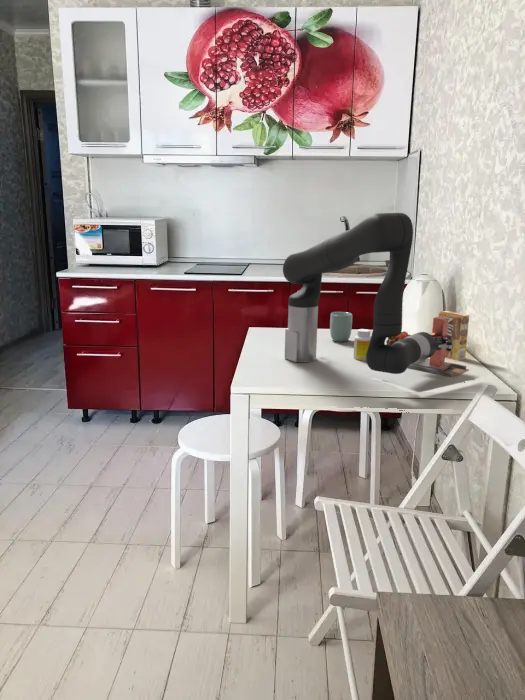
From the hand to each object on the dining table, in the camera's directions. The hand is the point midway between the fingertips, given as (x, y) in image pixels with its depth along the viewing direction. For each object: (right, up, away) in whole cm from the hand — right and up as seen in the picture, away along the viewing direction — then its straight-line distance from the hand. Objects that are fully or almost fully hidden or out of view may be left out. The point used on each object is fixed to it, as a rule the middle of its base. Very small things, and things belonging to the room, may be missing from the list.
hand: (443, 337), depth 173 cm
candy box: (+7, -7, +14) cm, 17 cm away
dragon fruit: (-8, -5, +21) cm, 23 cm away
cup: (-25, 0, +39) cm, 47 cm away
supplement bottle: (-22, -8, +11) cm, 26 cm away
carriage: (-4, -8, +1) cm, 9 cm away
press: (-5, -10, +3) cm, 11 cm away
